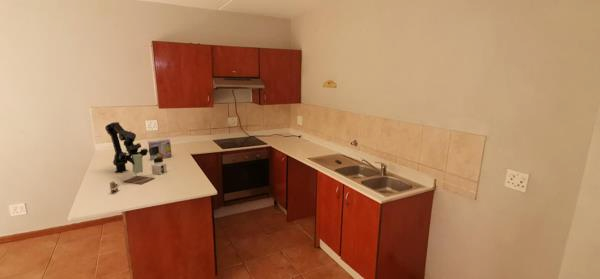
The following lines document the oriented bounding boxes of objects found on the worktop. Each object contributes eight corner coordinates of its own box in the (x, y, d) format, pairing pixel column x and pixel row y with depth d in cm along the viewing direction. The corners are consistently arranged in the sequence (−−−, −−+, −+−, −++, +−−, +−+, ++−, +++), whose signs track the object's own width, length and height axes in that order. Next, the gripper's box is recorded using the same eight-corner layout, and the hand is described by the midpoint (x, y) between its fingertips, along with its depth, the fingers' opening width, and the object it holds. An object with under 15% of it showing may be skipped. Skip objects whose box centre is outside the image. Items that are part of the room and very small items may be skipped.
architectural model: (120, 190, 200) (119, 180, 199) (115, 194, 194) (114, 183, 192) (115, 190, 200) (113, 180, 198) (110, 194, 193) (108, 184, 192)
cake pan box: (150, 160, 268) (148, 142, 265) (148, 159, 272) (146, 141, 269) (172, 157, 280) (170, 139, 277) (170, 156, 284) (169, 138, 280)
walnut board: (123, 182, 214) (123, 181, 214) (137, 176, 226) (137, 175, 226) (141, 184, 210) (141, 183, 210) (154, 178, 222) (154, 177, 222)
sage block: (132, 171, 216) (131, 154, 214) (140, 170, 220) (138, 153, 218) (135, 173, 213) (134, 156, 211) (143, 172, 217) (141, 154, 214)
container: (167, 171, 238) (165, 156, 236) (160, 174, 231) (158, 158, 228) (159, 171, 240) (157, 155, 238) (152, 173, 233) (150, 158, 230)
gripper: (118, 142, 207) (126, 160, 203) (145, 138, 221) (153, 154, 217) (115, 151, 214) (123, 168, 209) (142, 146, 228) (150, 163, 223)
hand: (138, 163), depth 214 cm, fingers closed on sage block, 5 cm apart
